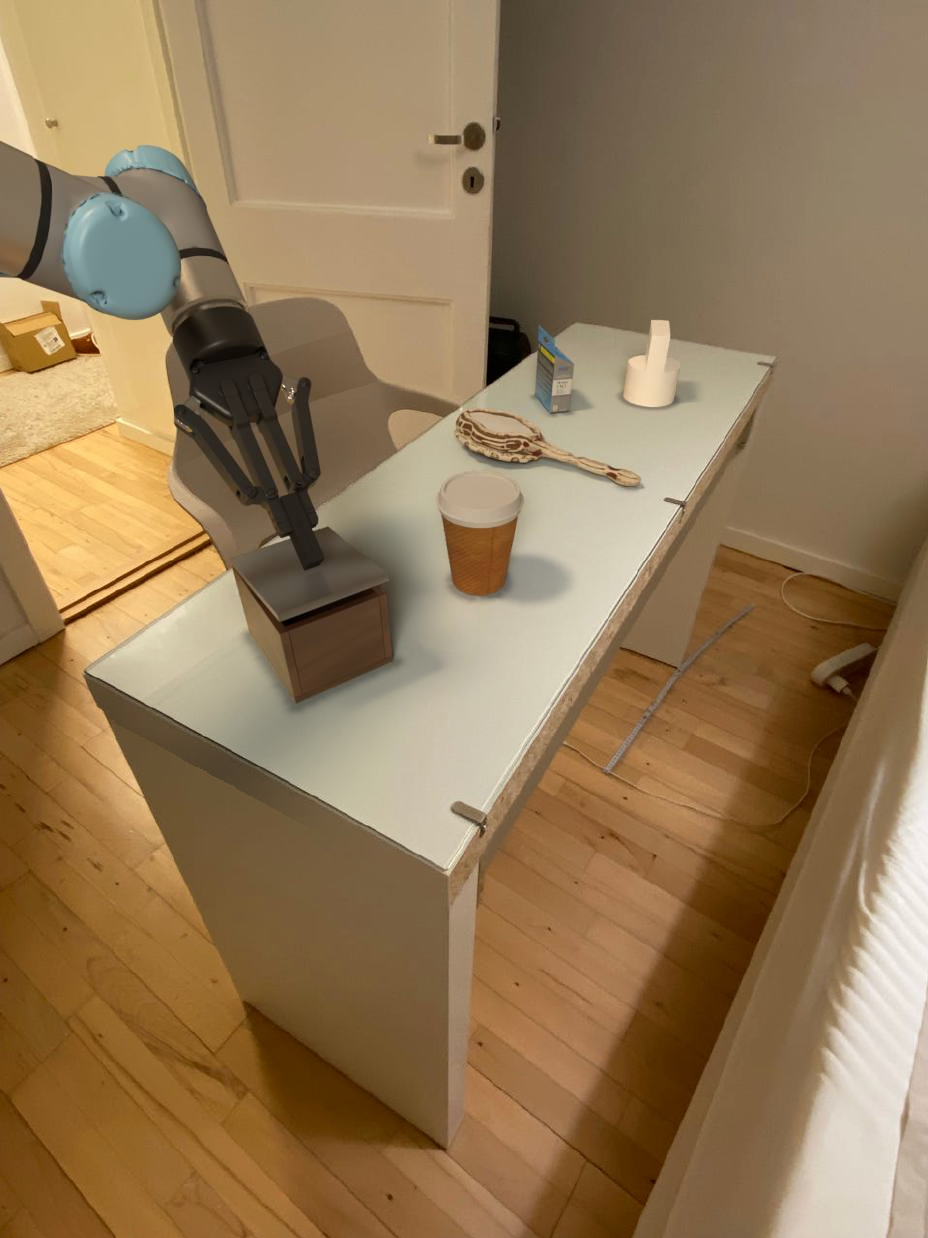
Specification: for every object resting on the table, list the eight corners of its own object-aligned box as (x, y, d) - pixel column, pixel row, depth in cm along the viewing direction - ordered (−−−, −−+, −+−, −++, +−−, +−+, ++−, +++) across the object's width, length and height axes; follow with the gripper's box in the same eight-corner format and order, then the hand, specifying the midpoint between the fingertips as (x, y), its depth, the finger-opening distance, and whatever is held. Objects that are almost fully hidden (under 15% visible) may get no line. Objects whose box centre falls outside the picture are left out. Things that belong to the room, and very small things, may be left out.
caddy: (393, 661, 70) (386, 593, 64) (295, 704, 65) (279, 634, 59) (339, 598, 78) (329, 533, 72) (249, 632, 73) (231, 565, 67)
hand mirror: (628, 490, 92) (439, 423, 101) (621, 521, 96) (441, 455, 106) (657, 445, 97) (474, 386, 107) (649, 476, 102) (475, 417, 111)
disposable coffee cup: (445, 554, 84) (443, 465, 77) (522, 559, 83) (527, 471, 76) (431, 600, 77) (428, 508, 70) (515, 608, 76) (521, 515, 69)
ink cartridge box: (570, 412, 118) (577, 338, 110) (549, 414, 117) (554, 340, 109) (553, 392, 124) (559, 322, 117) (533, 394, 124) (537, 323, 116)
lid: (389, 581, 62) (388, 573, 62) (279, 622, 58) (277, 614, 57) (329, 532, 72) (327, 525, 72) (231, 565, 67) (229, 557, 67)
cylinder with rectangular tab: (623, 385, 127) (633, 318, 119) (673, 389, 126) (686, 321, 118) (622, 404, 120) (633, 334, 113) (674, 408, 119) (689, 337, 111)
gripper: (273, 335, 68) (367, 552, 68) (139, 361, 63) (241, 597, 63) (285, 290, 61) (389, 531, 61) (135, 315, 56) (249, 579, 56)
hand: (314, 564), depth 62 cm, fingers closed
